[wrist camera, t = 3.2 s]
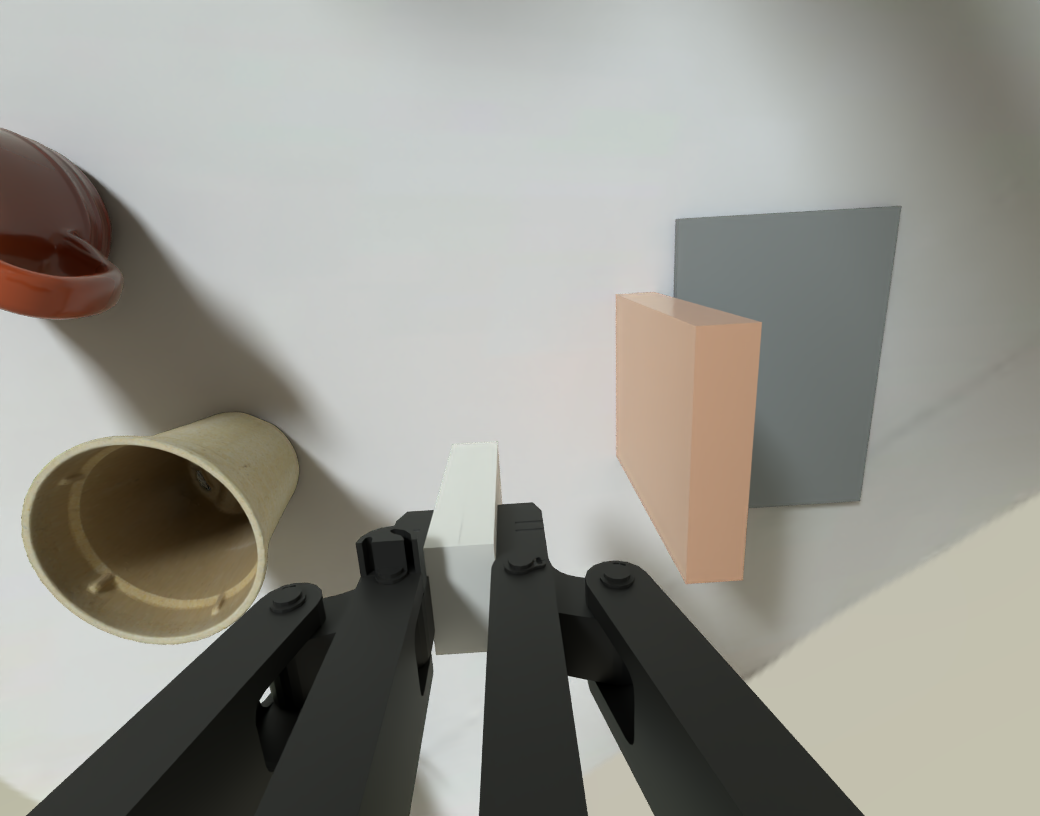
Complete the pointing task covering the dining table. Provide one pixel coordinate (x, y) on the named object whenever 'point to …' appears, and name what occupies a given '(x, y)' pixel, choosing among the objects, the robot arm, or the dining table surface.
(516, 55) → the dining table surface
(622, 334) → the tile
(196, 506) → the flower pot
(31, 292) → the mug
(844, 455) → the mat
